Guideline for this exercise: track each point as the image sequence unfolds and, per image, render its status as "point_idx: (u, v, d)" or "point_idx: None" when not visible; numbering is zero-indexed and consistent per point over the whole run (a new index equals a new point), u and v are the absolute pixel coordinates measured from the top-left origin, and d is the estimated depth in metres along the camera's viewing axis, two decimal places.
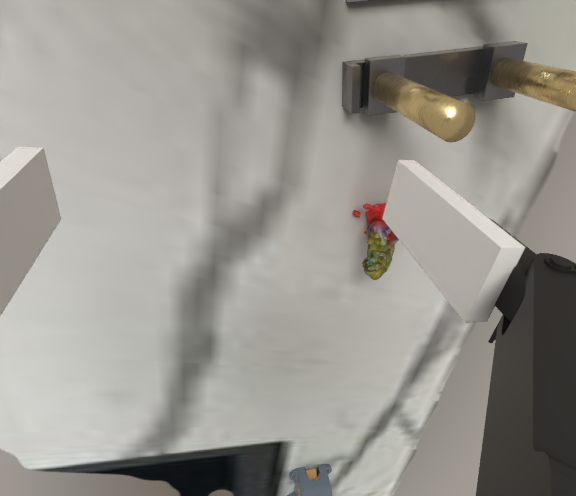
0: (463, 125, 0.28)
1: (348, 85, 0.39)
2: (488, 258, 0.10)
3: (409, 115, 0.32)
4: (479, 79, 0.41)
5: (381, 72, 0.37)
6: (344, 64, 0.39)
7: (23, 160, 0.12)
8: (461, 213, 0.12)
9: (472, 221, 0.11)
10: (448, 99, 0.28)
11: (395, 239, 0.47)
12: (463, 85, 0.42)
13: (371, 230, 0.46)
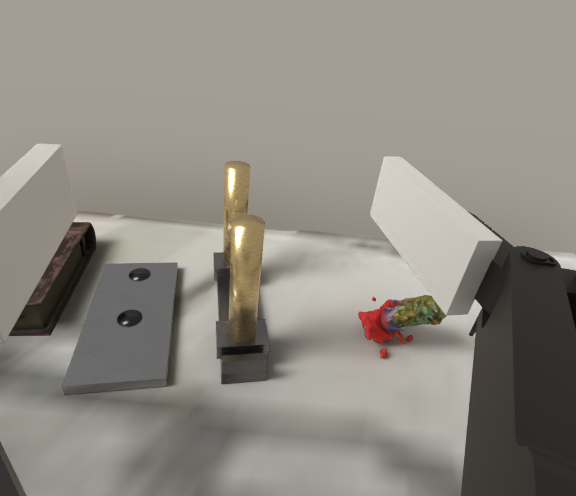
0: (250, 219, 0.33)
1: (242, 369, 0.37)
2: (466, 251, 0.11)
3: (253, 277, 0.34)
4: None
5: (228, 337, 0.39)
6: (223, 379, 0.38)
7: (43, 157, 0.12)
8: (442, 207, 0.12)
9: (452, 215, 0.11)
10: (231, 236, 0.33)
11: (396, 301, 0.44)
12: None
13: (391, 321, 0.40)
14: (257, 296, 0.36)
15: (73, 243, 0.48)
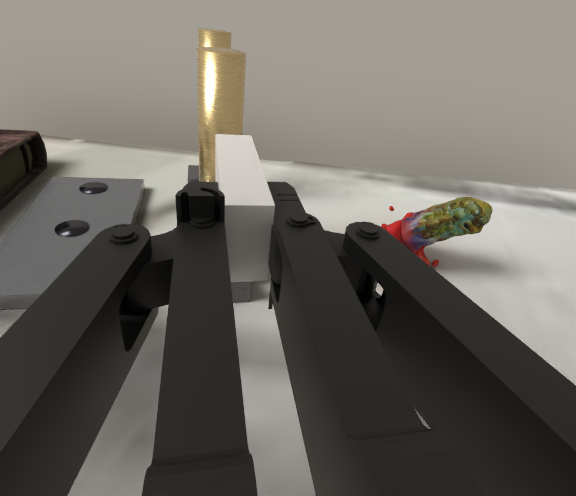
0: (225, 49, 0.23)
1: None
2: None
3: None
4: None
5: None
6: None
7: (231, 144, 0.15)
8: (243, 178, 0.12)
9: (246, 184, 0.12)
10: (198, 73, 0.23)
11: (420, 211, 0.34)
12: None
13: (417, 228, 0.31)
14: None
15: (8, 146, 0.37)
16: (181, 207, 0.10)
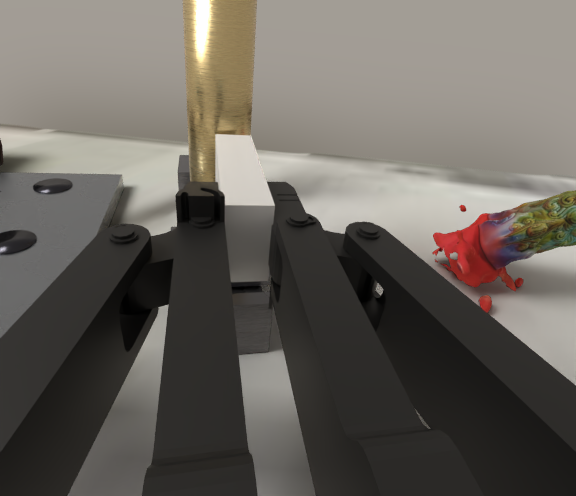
0: None
1: None
2: None
3: (235, 89, 0.15)
4: None
5: None
6: None
7: (231, 144, 0.15)
8: (243, 178, 0.12)
9: (246, 184, 0.12)
10: None
11: (503, 212, 0.24)
12: None
13: (512, 236, 0.21)
14: None
15: None
16: (181, 207, 0.10)
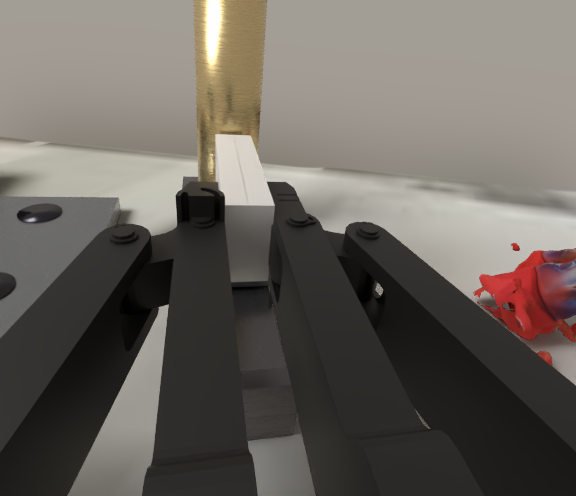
0: None
1: None
2: None
3: (244, 91, 0.15)
4: None
5: None
6: None
7: (231, 143, 0.15)
8: (243, 178, 0.12)
9: (246, 184, 0.12)
10: None
11: (562, 251, 0.21)
12: None
13: None
14: None
15: None
16: (181, 207, 0.10)
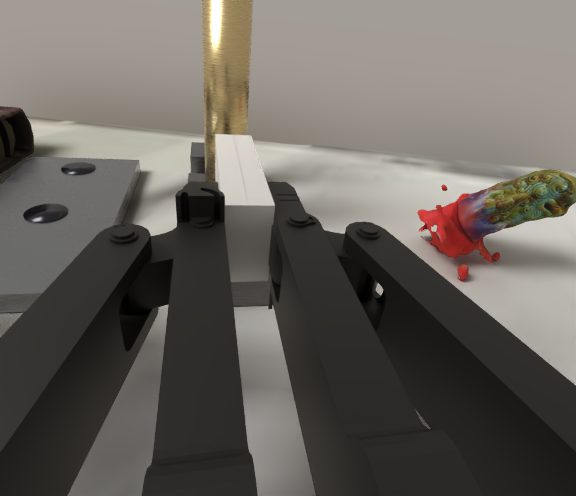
0: None
1: None
2: None
3: (237, 63, 0.22)
4: None
5: None
6: None
7: (231, 144, 0.15)
8: (243, 178, 0.12)
9: (246, 184, 0.12)
10: None
11: (480, 191, 0.27)
12: None
13: (484, 209, 0.24)
14: (245, 109, 0.24)
15: None
16: (181, 207, 0.10)
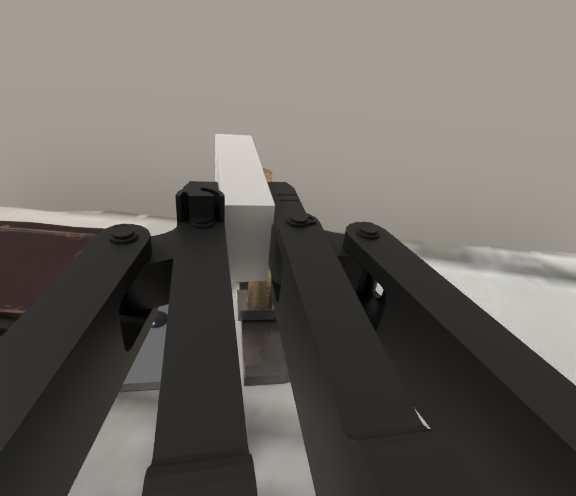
0: None
1: (263, 372, 0.39)
2: None
3: None
4: None
5: (247, 303, 0.45)
6: (245, 382, 0.39)
7: (231, 144, 0.15)
8: (243, 178, 0.12)
9: (246, 184, 0.12)
10: None
11: None
12: None
13: None
14: None
15: None
16: (181, 207, 0.10)
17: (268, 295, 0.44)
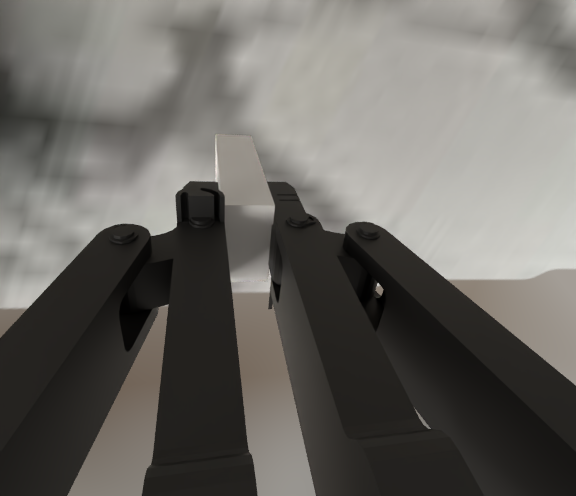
0: None
1: None
2: None
3: None
4: None
5: None
6: None
7: (231, 144, 0.15)
8: (243, 178, 0.12)
9: (246, 184, 0.12)
10: None
11: None
12: None
13: None
14: None
15: None
16: (181, 207, 0.10)
17: None
